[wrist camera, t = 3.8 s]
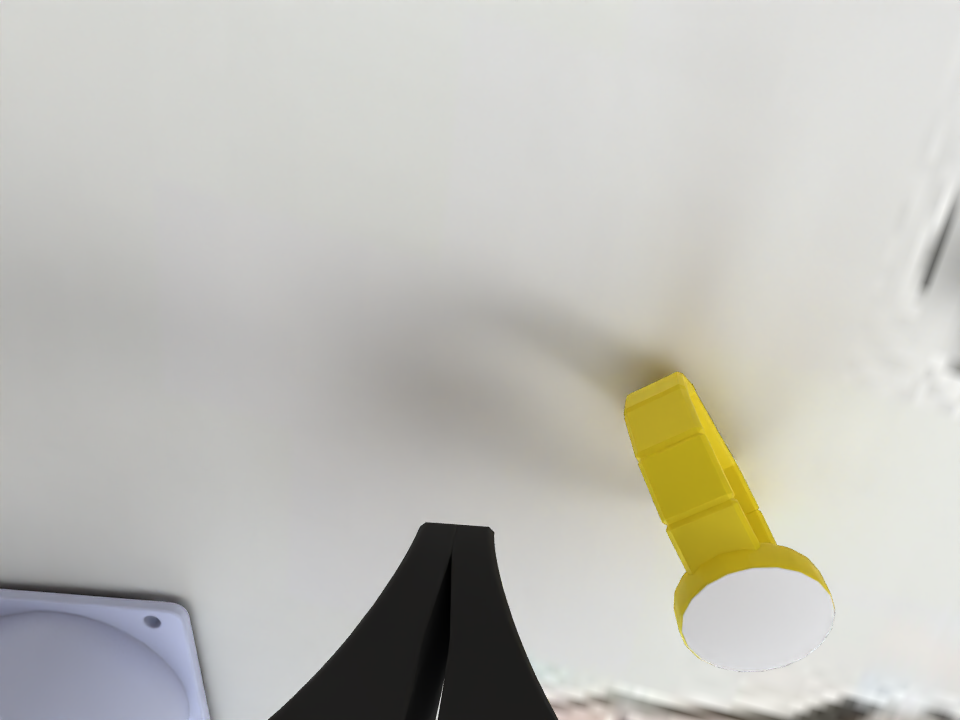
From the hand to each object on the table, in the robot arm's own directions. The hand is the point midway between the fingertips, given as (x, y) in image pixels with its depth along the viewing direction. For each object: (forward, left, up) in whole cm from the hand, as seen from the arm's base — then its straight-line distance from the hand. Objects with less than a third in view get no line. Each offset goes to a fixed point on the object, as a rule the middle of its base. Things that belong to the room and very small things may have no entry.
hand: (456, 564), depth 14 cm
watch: (+5, 0, -5) cm, 8 cm away
